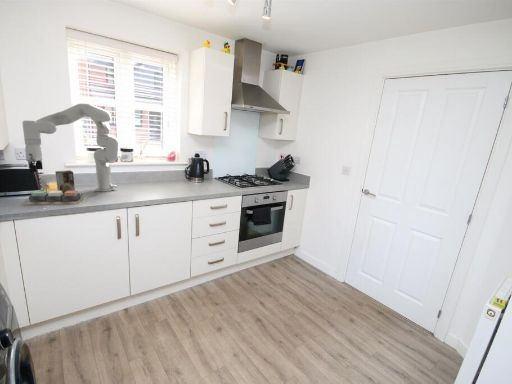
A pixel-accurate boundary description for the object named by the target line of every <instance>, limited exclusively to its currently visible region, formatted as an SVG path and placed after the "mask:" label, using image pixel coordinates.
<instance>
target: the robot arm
mask: <svg viewBox="0 0 512 384" xmlns="http://www.w3.org/2000/svg"><path fill="white" fill-rule="evenodd" d="M86 117H87V118H90V120H92V122H94V125H96V145H97V146H99V147H101V148H98V149H96V150H95V151H94V152H93V158H94V162H95V170H96V172H95V173H96V187H95V188H94V190H95V191H96V192H110V191H114V188H115V189H117V188H118V187H119V186H118V185H116V184H113V183H112V175H111V164H114V163H115V162H116V161H117V159H118V155H119V153H118V152H119V151H118V150H119V142H118V141H119V140H118V139H117V138H116V137H115V136H114V135H111V126H110V123H109V122H110V121H111V119H112V116H111V113H110V112H109V111H108V110H106V109H103V108H102V107H101V108H100V107H98V106H95V105H93V104H89V103H77V104H75V105H73V106H70V107H68V108H66V109H64V110H62V111H59V112H56V113H52V114H49V115H48V114H47V115H46V116H43V117H40V118H39V119H37V120H23V121H22V130H23V131H22V132H23V138H24V139H23V140H24V145H25V149H24V150H25V160H26V162H27V163H28V170H29V172H30V173H37V170H43V169H44V168H43V160H42V159H43V154H42V152H43V151H42V147H41V145H42V138H41V134H45V135H46V134H47V135H51V134H54V133H56V132H57V127H58V126H62V125H64V126H66V125H70V124H73V123H75V122H77V121H79V120H81V119H83V118H86Z"/></svg>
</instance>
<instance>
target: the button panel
mask: <svg viewBox="0 0 512 384" xmlns="http://www.w3.org/2000/svg"><path fill="white" fill-rule="evenodd" d="M48 193H49V192H47V194H46V195H45V196H32V194H30V195H29V196H28V200H29V201H26V203H25V204H26V205H68V204H69V205H72V204H74V205H77V204H80V203H81V202H82V201H83V200H84V197H81V192H78V194H77V195H76V196H65V195H64V193H63V194H62V195H61V196H48Z"/></svg>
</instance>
